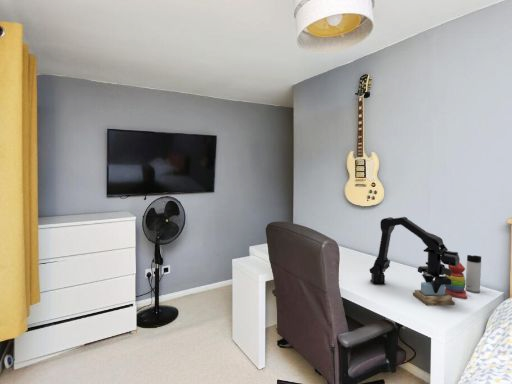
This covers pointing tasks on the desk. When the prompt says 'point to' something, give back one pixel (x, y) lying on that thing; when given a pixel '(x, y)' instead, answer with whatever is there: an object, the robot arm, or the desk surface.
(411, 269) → the desk surface
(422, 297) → the jig
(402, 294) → the desk surface
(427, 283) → the blue slab
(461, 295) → the stacking bear
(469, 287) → the travel mug
